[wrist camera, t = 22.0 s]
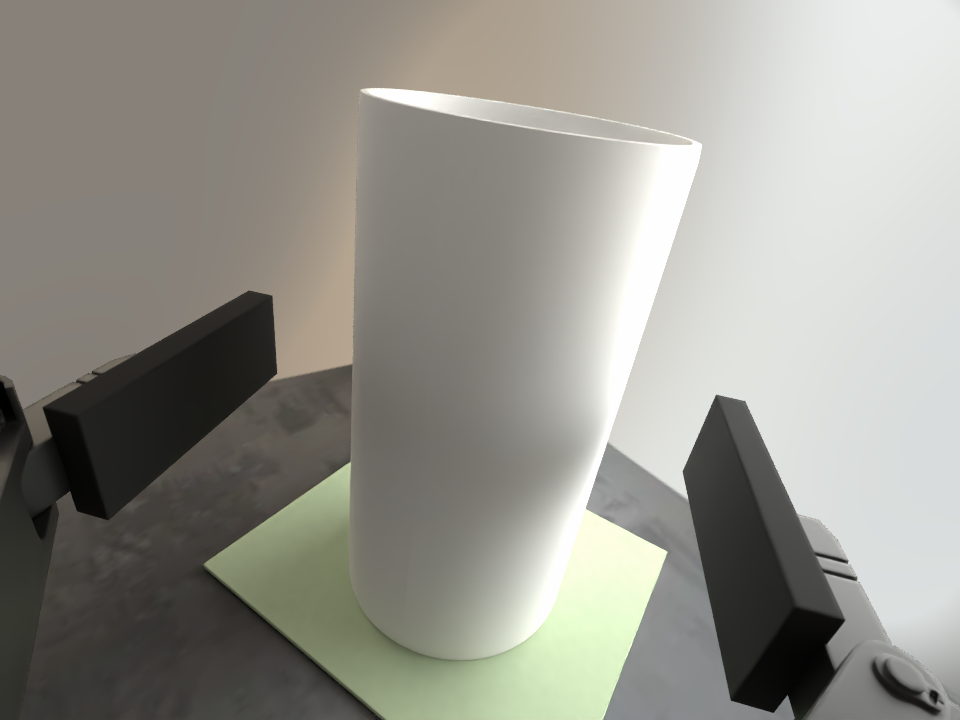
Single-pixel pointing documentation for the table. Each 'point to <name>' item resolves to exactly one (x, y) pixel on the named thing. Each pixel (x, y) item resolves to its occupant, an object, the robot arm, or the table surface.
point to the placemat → (432, 681)
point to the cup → (491, 349)
